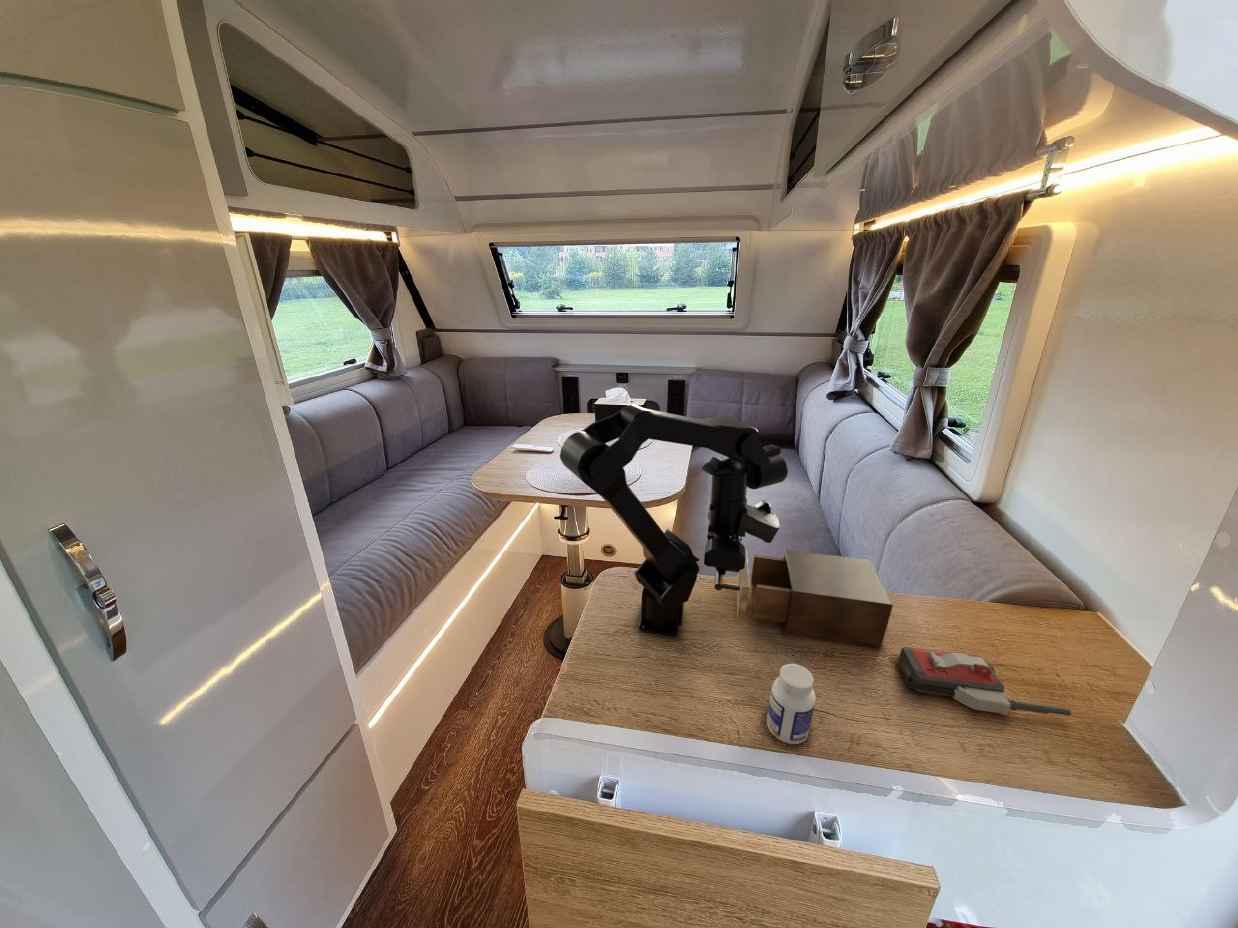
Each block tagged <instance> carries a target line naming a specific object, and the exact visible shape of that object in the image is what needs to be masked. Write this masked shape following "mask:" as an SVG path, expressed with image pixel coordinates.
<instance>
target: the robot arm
mask: <svg viewBox="0 0 1238 928" xmlns="http://www.w3.org/2000/svg"><path fill="white" fill-rule="evenodd" d="M759 438H760V437H759V430H758V429H757V428H756V427H753V426H751V425H749V424H746V423H745V422H741V421H739V420H735V419H734V418H731V417H729V416H710V417H708V418H705V419H703V418H702V419H701V418H695V417H689V416H684V415H680V414H674V413H669V412H664V411H659V410H654V409H650V408H645V407H642V406H640V405H638V404H628V405H626V406H624V407H622V408H620V409H619V410H618V411H617V412H615V413H614V414H612V415H609V416H607V417H604V418H601V419H599V420H596V421H594V422H592V423H590V424H589V425H587V426H586V427H585V428H583V429H582V430H581V431H577V432H573V433H572V434H570V435H569V436H567V438H566V439H565V440H564V441H563V443H562V445H561V447H560V453H559V459H560V461H561V463H562V465H563V466H564V467H565V468H566V469H567V470H569V471H570V472H571V473H572V474H573V475H574V476H575V477H577V478H578V479H579V480H580V481H581V482H583V483H584V485H585V486H587V487H588V488H590V489H591V490H592V491H594V492H595V493H596V494H598V496H600V497H601V498H602V499H603V501H604V502H605V503H606V504H607V505H608V506H609V508H610V509H611V510H612V511H613V513H614V514H615V515H616V516H617V518H618V519H619V520H620V522H622V524H623V525H624V526H625V527H626V529H627V531H629V532H630V534H632V536H633V537H634V538H635V539H636V541H637V542H638V544H640V545H641V547H642V552H643V556H644V558H645V559H644V560H643V562H642V563H641V564H640V565H639V567H637V569H636V570H635V572H634V576H635V579H636V581H637V583H639V585H641V586H642V587H643V588H642V593H641V606H640V607H641V608H640V609H641V610H640V620H639V624H638V631H641V632H646V633H654V634H660V635H666V636H670V637H671V636H672V637H677V636H678V634H679V628H680V627H681V626H683V619H684V607H685V603H687V602H689V599H690V597H691V595H692V592H693V589H694V587H695V584H696V582H697V579H698V574H699V572H700V566H699V563H697V562H699V561H700V557H699V558H698V556H696V555H695V554H694V553H693V551H692V549H691V547H690V545H689V544H688V543H687V542H685V541H684V540H683V539H681V538H680V537H679V536H678V535H677V534H675V533H674V532H672V531H671V530H670V529H669V528H666V530H665V531H663V530H662V528H661V527H660V526H659V524H658V523H657V521H656V520H655V519H654V518H653V517H652V514H650V512H649V511H648V510H647V509H646V507H645V506H644V504H643V503H642V502H641V501H640V499H639V498H638V496H637V495H636V494H635V492H634V491H633V490H632V489H631V487H630V486H629V484H628V482H627V476H626V470H625V467H626V466H627V465H629V464H630V463H631V462H632V461H633V459H634V457H635V456H636V454H637V453H638V451H639V450H640V448H641V446H642V445H643V444H644V443H646V442H647V441H648V440H653V441H658V442H659V441H661V442H668V443H672V444H679V445H685V446H691V447H697V448H704V449H708V450H710V451H713V452H715V453H717V454H720V455H722V456H724V457H726V458H721V459H719V458H717V457H715V456H711V458H710V459H709V460H708V461H706V462H705V463H703V465H702V466H701V471H702V472H704V473H706V474H709V475H711V485H710V498H709V499H710V500H709V504H708V513H707V520H708V525H707V526H708V527H707V532H706V538H707V540H706V542H705V544H704V545H705V546H704V556H703V557H704V558H703V565H704V566H706V567H708V568H709V567H710V568H715V567H716V570H717V572H718V574H719V575H723V576H725V575H726V573H727V572H728V571H727V569H736V570H742V569H744V568H745V559H746V558H745V551H746V546H745V545H744V544H743V543H742V542H741V541H743V538H745V537H746V533H747V534H748V535H750V536H752V537H755V538H758V539H760V540H762V542H764V543H766V544H771V543H772V542H773V541H774V538H775V537H776V536H777V533H778V531H780V528H781V526H780V521H779V518H778V516H777V515H776V513H775V512H772V507H771V503H770V502H768V501H766V500H764V499H762V500H760V501H759V502H758V503H755V504H752V505H749V504H748V498H747V490H748V489H749V490H758V489H761V488H765V487H770V486H774V485H777V484H780V483H782V482H784V481H786V478H787V477H788V474H789V469H788V466H787V462H786V460H785V458H784V457H783V455H782V454H781V451H782V448H781V447H780V446H778V445H776V444H768V445H765V446H763V445H762V443H761V441H760V439H759ZM615 440H616V441H615ZM612 441H614V442H613V443H612V444H611V445H608V444H607V443H609V442H612Z"/></svg>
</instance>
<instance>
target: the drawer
mask: <svg viewBox="0 0 1238 928" xmlns="http://www.w3.org/2000/svg"><path fill="white" fill-rule="evenodd" d="M745 558H746V559H745V568H744V569H742V570H736V569H727V571H726V572H732V573H736V585H733V584H726V583H724V582H723V581H724V575H719V574H718V572H717V570H716V567H714V581H713V582H714V590H715V591H722V590H724V589H725V590H730V591H736V616H737V617H736V619H737V620H738V621H746V614H747V608H748V600H749V593H750V598H751V599H750V600H751V612H752V613H751V615H752V618H753V619H758V620H766V621H771V622H778V623H783V624H784V623H787V617H788V612H789V606H790V601H791V596H792V589H791V584H790V579H789V574H788V568H787V563H786V559H784V557H777V556H775V557H774V556H769V555H767V556H766V555H760V554H754V555H753V561H752V569H751V575H750V577H749V564H748V563H749V562H748V551H747V550H745Z"/></svg>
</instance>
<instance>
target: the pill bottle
mask: <svg viewBox="0 0 1238 928" xmlns="http://www.w3.org/2000/svg"><path fill="white" fill-rule="evenodd" d="M814 681H815V679H814V676H813V674H812V672H810V671H809V670H808V669H807V668H806V667H804V666H802V665H801V664H797V663H786V664H784V665H783V666H782V667H781V668H780V670H779V675H778V677H777V678H776V679H775V680H774V681H773V683H772V686H771V689H770V690H771V691H770V694H769V695H770V696H769V702H768V708H767V715H766V724H767V727H768V730H769V732H771V734H772V735H773V736H774V737H775V738H777V739H778V740H779V741H781V742H783V743H786V744H790V745H798V744H801V743H804V742H805V741H806V740H807V738H808V737H809V734H810V729H811V725H812V720H813V716H814V711H815V706H816V699H817V698H816V693H815V691H814V689H813V687H814Z"/></svg>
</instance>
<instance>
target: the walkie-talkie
mask: <svg viewBox="0 0 1238 928" xmlns="http://www.w3.org/2000/svg"><path fill="white" fill-rule="evenodd" d="M897 662H898V664H899V666H900V669H901V670H902V672H903V674H904V676H905V677H904V685H905V686H906V687H908V688H910V689H912V690H914V691H916V693H922V694H931V695H938V696H946V697H952V698H953V699H954V700H955V701H957V702H959V703H960V704H962V705H964V706H966V707H967V708H970V709H972V710H974V711H975V710H976V711H981V712H982V711H983V712H990V713H995V714H996V713H997V714H998V715H999V714H1000V715H1004V716H1007V715H1008V714H1009V711H1010V710H1011V711H1022V712H1023V711H1024V712H1032V713H1039V714H1047V715H1048V714H1053V715H1062V716H1067V717H1068V716H1072V711H1071V710H1070V709H1069V708H1067V707H1062V706H1061V707H1060V706H1054V705H1046V704H1039V703H1030V702H1023V701H1016V700H1015V699H1011V698H1007V697H1006V696H1005V693H1004V691H1005V684H1004V682H1002V681H1001V679H1000V678H999V676H998V675H997V674H996V670H995V668H994V667H993V665H991V664H989V663H988V661H987V660H986V659H985V658H984V657H982V656H980V655H975V654H967V653H960V652H959V653H958V652H952V651H951V652H950V651H944V650H943V651H942V650H934V649H928V648H927V649H926V648H918V647H910V646H903V647H901V650H900V653H899V656H898V659H897Z"/></svg>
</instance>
